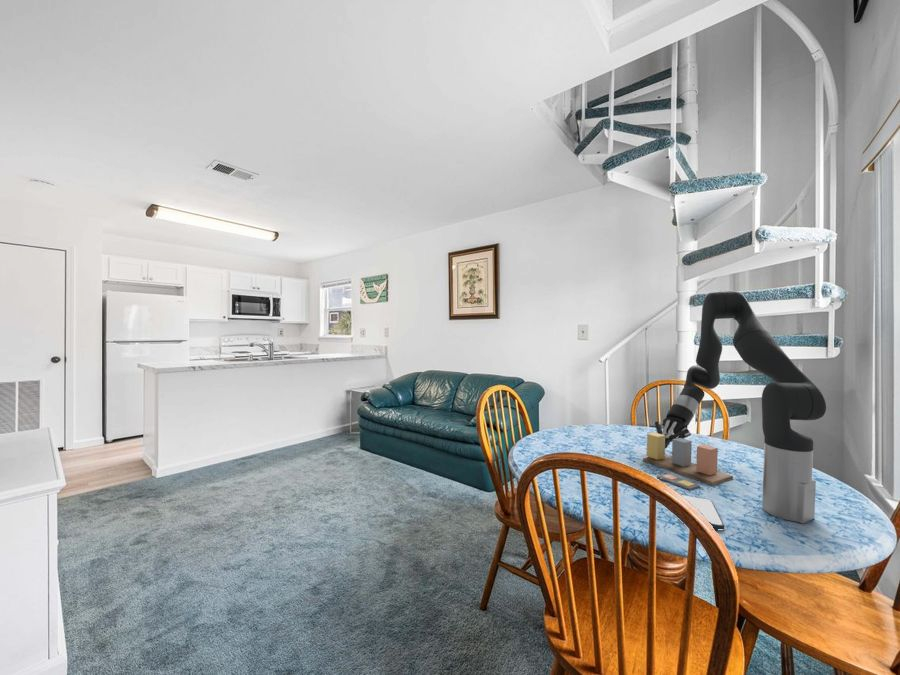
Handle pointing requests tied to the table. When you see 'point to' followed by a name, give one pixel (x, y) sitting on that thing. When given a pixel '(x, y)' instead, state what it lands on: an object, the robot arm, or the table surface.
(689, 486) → the card
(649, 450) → the yellow tall block
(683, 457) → the grey rectangular block
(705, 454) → the salmon pink block
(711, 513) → the phone case
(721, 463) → the table surface
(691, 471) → the keypad base
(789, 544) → the table surface
